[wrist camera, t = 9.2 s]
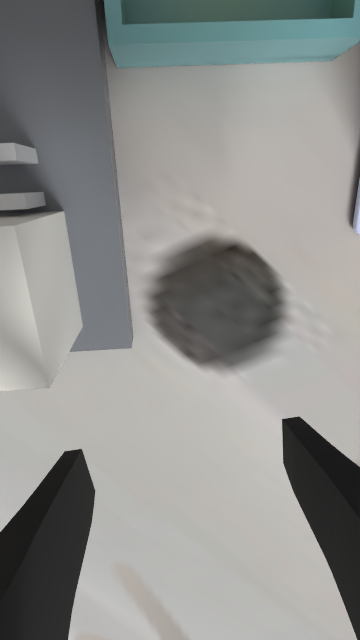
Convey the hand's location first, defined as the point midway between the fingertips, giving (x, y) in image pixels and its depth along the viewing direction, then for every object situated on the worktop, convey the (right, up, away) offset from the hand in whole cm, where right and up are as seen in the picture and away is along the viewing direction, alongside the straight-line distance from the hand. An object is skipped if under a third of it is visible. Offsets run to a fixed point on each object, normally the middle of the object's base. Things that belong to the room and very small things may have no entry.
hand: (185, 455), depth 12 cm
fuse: (-8, +7, +5) cm, 12 cm away
